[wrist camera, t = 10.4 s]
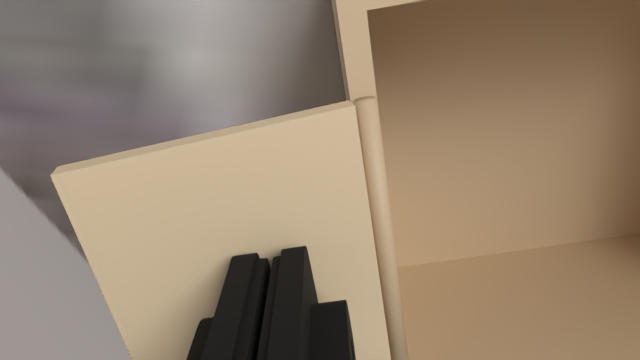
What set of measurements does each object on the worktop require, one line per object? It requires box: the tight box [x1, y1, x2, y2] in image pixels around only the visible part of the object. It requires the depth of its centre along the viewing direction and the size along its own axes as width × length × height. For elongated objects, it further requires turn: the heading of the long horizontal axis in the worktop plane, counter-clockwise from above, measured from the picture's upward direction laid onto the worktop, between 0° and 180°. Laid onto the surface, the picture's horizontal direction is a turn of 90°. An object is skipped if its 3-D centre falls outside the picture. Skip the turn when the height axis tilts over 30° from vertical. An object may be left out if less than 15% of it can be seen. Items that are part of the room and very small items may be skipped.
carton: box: [331, 0, 640, 360], centre depth 15 cm, size 14×14×8 cm
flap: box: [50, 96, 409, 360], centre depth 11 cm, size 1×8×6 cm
